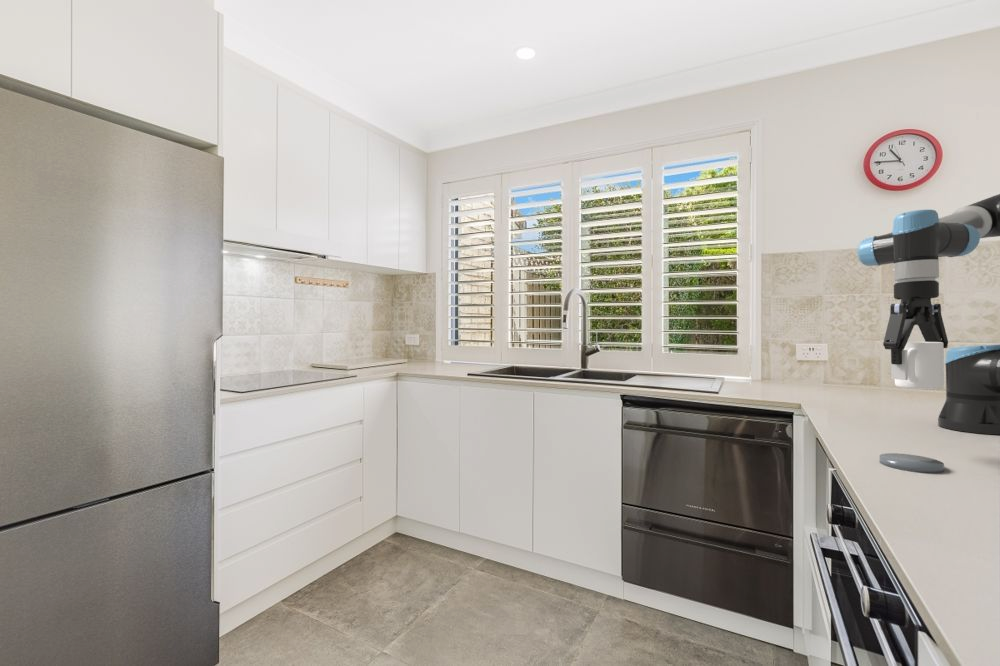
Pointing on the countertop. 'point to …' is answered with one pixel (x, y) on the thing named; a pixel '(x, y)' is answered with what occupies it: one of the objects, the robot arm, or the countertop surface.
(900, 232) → the robot arm
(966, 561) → the countertop surface
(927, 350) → the mug
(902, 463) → the slate plate
